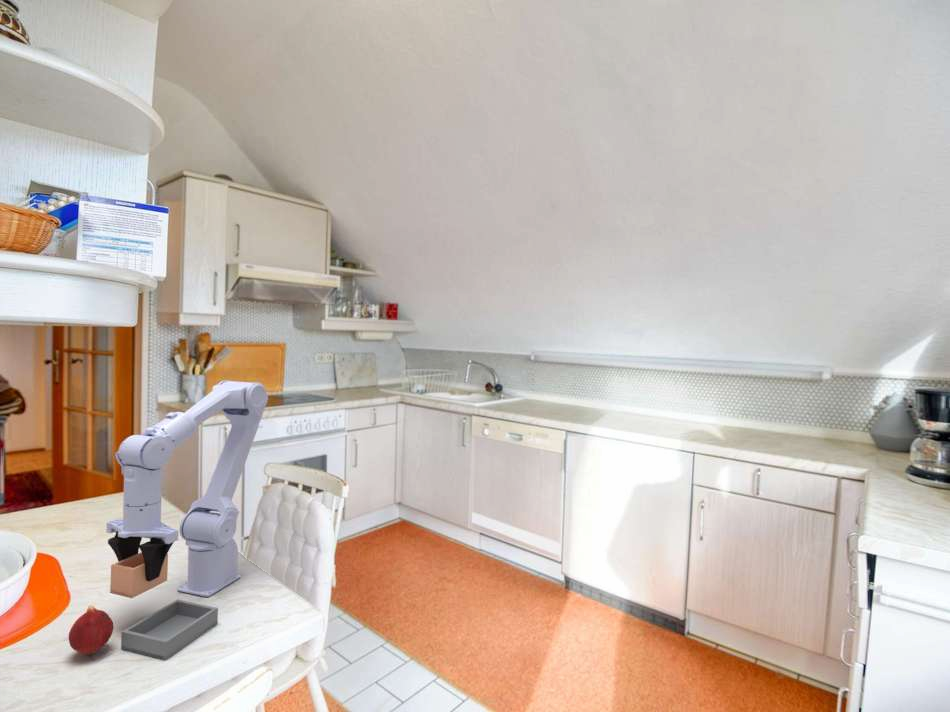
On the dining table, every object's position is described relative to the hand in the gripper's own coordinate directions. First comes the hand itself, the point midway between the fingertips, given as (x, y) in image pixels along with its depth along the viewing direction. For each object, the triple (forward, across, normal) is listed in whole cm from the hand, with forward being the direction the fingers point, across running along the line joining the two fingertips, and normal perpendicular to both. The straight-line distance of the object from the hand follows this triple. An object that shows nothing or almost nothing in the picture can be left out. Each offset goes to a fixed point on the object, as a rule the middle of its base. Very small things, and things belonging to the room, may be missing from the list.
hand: (140, 576), depth 91 cm
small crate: (+2, 0, 0) cm, 2 cm away
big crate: (+9, +8, -1) cm, 12 cm away
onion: (+9, 0, -9) cm, 13 cm away
